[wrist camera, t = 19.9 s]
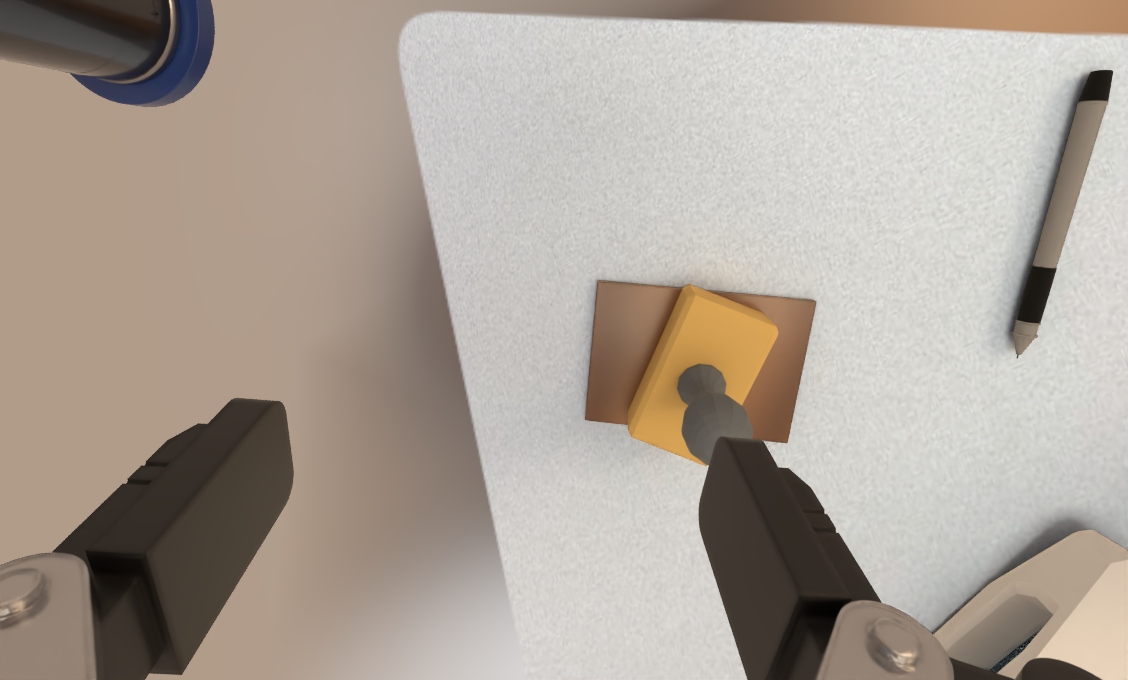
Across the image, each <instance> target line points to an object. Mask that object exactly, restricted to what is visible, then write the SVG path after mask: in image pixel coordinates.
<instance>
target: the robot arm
mask: <svg viewBox="0 0 1128 680" xmlns="http://www.w3.org/2000/svg"><path fill="white" fill-rule="evenodd" d="M180 30H181V15H180V7H179V1H178V0H0V60H5V61H11V62H16V63H21V64H27V65H32V66H37V67H42V68H48V69H53V70H58V71H63V72H67V73H72V74H78V75H83V76H88V77H94V78H98V79H100V80H103V81H107V82H112V83H117V84H125V85H133V84H140V83H144V82H147V81H149V80H151V79H153V78H155V77H156V76H157V75H159V74H160V73H161V72H162V71H163V70H164V69H165V68H166V67H167V66H168V64H169V63H170V61H171V60H172V58H173V56H174V54H175V51H176V49H177V46H178V42H179V37H180ZM293 476H294V471H293V462H292V454H291V446H290V440H289V431H288V423H287V416H286V410H285V407H284V405H283V404H282V403H281V402H280V401H270V400H269V401H268V400H257V399H244V398H234V399H232V400H231V401H230V402H228V404H227V405H226V406H225V407H224V408H223V409H222V410H221V411H220V412H219V413H218V414H217V415H216V416H215V417H214V418H213V419H212V420H211V421H210V422H209V423H208V424H197V425H195V426H193V427H191V428H189V429H188V430H186V431H184V432H182V433H180V434H179V435H176V436H175V437H173V438H171V439H169V440H167V441H166V442H165V443H164V444H163V445H162V446H161V447H160V448H159V449H158V450H157V451H156V452H155V453H154V454H153V455H152V456H151V457H150V458H149V459H148V460H147V461H146V465H145V466H141V467H140V468H139V469H138V470H136V471H135V472H134V473H133V474H132V475H131V476H130V477H129V478H128V482H127V484H122V485H121V486H120V487H119V488H118V489H117V490H116V491H115V492H114V493H113V494H112V495H111V496H110V497H108V499H107V500H105V501H104V502H103V503H102V504H101V505H100V506H99V507H98V508H97V509H96V510H95V511H94V512H93V513H92V514H91V515H90V516H89V517H88V518H87V519H86V520H85V521H84V522H83V523H82V524H81V525H79V526H78V527H77V529H75V530H74V531H73V532H72V533H71V534H70V535H69V536H68V537H67V538H66V539H65V540H64V541H63V542H62V543H61V544H60V545H59V546H58V547H57V548H56V549H55V550H54V551H53V552H52V553H41V554H35V555H31V556H26V557H22V558H19V559H15V560H12V561H10V562H7V563H4V564H2V565H0V680H145V679H146V677H147V676H148V674H149V673H153V674H174V675H175V674H176V675H182V674H183V672H184V670H185V669H186V667H187V665H188V664H189V662H190V661H191V659H192V657H193V655H194V654H195V652H196V650H197V649H198V648H199V646H200V644H201V643H202V641H203V639H204V638H205V636H206V634H207V633H208V631H209V630H210V628H211V626H212V625H213V623H214V621H215V620H216V618H217V616H218V615H219V613H220V611H221V610H222V608H223V607H224V605H225V603H226V601H227V600H228V598H229V597H230V595H231V593H232V592H233V590H234V589H235V587H236V585H237V584H238V582H239V580H240V579H241V577H242V576H243V574H244V572H245V571H246V569H247V567H248V565H249V564H250V562H251V561H252V559H253V558H254V556H255V554H256V553H257V551H258V549H259V547H260V546H261V544H262V543H263V541H264V540H265V538H266V536H267V535H268V533H269V531H270V530H271V528H272V526H273V525H274V523H275V522H276V520H277V518H278V517H279V515H280V513H281V512H282V510H283V508H284V507H285V505H286V503H287V501H288V499H289V496H290V493H291V489H292V484H293ZM699 527H700V532H701V535H702V539H703V542H704V545H705V548H706V551H707V554H708V557H709V561H710V564H711V567H712V570H713V573H714V576H715V579H716V582H717V586H718V589H719V592H720V595H721V598H722V601H723V604H724V607H725V611H726V614H727V617H728V620H729V623H730V626H731V629H732V632H733V636H734V639H735V642H736V645H737V648H738V651H739V654H740V657H741V661H742V664H743V667H744V670H745V673H746V676H747V679H748V680H1102V679H1100V678H1099V677H1097V676H1095V675H1094V674H1092V673H1090V672H1088V671H1086V670H1084V669H1082V668H1080V667H1078V666H1075V665H1073V664H1070V663H1068V662H1064V661H1061V660H1058V659H1052V658H1036V659H1032V660H1030V661H1028V662H1027V663H1026V664H1025V665H1024V667H1023V668H1022V669H1021V671H1020V672H1019V674H1018V675H1017V676H1016V678H1015V679H1013V678H1010V677H1007V676H1004V675H1001V674H998V673H995V672H992V671H989V670H986V669H983V668H980V667H977V666H974V665H971V664H968V663H965V662H962V661H959V660H956V659H953V658H951V657H949V656H948V654H947V653H946V651H945V649H944V648H943V646H942V645H941V644H940V642H939V641H938V640H937V639H936V638H935V636H934V635H933V634H932V633H931V632H930V631H929V630H928V629H926V628H925V627H924V626H923V625H922V624H920V623H919V622H918V621H916V620H915V619H914V618H912V617H911V616H909V615H907V614H906V613H904V612H902V611H900V610H898V609H896V608H894V607H892V606H889V605H886V604H883V603H882V602H881V601H880V599H879V597H878V596H877V594H876V593H875V591H874V589H873V588H872V586H871V584H870V583H869V581H868V580H867V578H866V576H865V575H864V573H863V571H862V570H861V568H860V567H859V565H858V563H857V562H856V560H855V559H854V557H853V555H852V554H851V552H850V550H849V549H848V547H847V546H846V544H845V542H844V541H843V539H842V537H841V536H840V534H839V533H836V528H835V526H834V524H833V523H832V521H831V520H830V518H829V516H828V515H827V514H825V513H824V508H823V507H822V505H821V503H820V502H819V500H818V499H817V497H816V495H815V494H814V492H813V490H812V489H811V488H810V487H809V486H808V485H807V484H806V483H805V482H804V481H802V480H801V479H800V478H799V477H798V476H797V475H796V474H794V473H793V472H792V471H791V470H790V469H789V468H778V466H777V465H776V463H775V461H774V459H773V458H772V456H771V454H770V452H769V450H768V449H767V447H766V445H765V444H764V442H763V441H762V440H760V439H749V438H736V437H723V436H721V437H719V438H718V439H717V441H716V443H715V446H714V449H713V453H712V457H711V460H710V464H709V468H708V472H707V475H706V479H705V483H704V486H703V490H702V494H701V498H700V503H699Z"/></svg>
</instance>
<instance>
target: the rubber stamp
mask: <svg viewBox="0 0 1128 680" xmlns="http://www.w3.org/2000/svg"><path fill="white" fill-rule="evenodd" d="M777 336H778V329H777V327H776V325H775V324H774V323H773V322H772V321H771V320H770V319H769V318H768V317H767V316H766V315H765V314H764V313H762V312H760V311H757V310H754V309H752V308H749V307H747V306H744V305H742V304H739V303H736V302H734V301H731V300H729V299H726V298H724V297H721V296H719V295H716V294H713V293H711V292H708V291H706V290H703V289H701V288H698V287H695V286H693V285H690V284H689V285H687V286H685V287H684V288H683V289H682V291H681V293H680V296H679V298H678V300H677V302H676V305H675V307H674V309H673V311H672V313H671V316H670V318H669V320H668V322H667V325H666V327H665V329H664V331H663V334H662V336H661V338H660V340H659V343H658V345H657V347H656V349H655V352H654V354H653V356H652V358H651V361H650V363H649V365H648V367H647V370H646V372H645V374H644V376H643V378H642V381H641V383H640V385H639V387H638V390H637V392H636V394H635V396H634V399H633V401H632V403H631V405H630V408H629V410H628V430H629V433H630V435H631V437H633V438H636V439H638V440H641V441H643V442H646V443H648V444H651V445H653V446H656V447H659V448H661V449H664V450H666V451H669V452H671V453H674V454H676V455H679V456H682V457H684V458H687V459H689V460H692V461H694V462H697V463H700V464H702V465H705V466H707V465H709V464H710V460H711V457H712V453H713V449H714V446H715V443H716V441H717V439H718V438H719V437H721V436H723V437H736V438H749V439H752V436H753V427H752V424H751V422H750V419H749V417H748V414H747V412H746V410H745V408H744V407H743V406H742V404H743V402H744V400H745V399H746V397H747V395H748V393H749V391H750V389H751V387H752V385H753V383H754V381H755V379H756V377H757V375H758V373H759V371H760V369H761V367H762V366H763V364H764V362H765V360H766V358H767V356H768V354H769V352H770V350H771V348H772V346H773V344H774V342H775V340H776V338H777Z"/></svg>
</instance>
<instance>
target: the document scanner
mask: <svg viewBox="0 0 1128 680" xmlns="http://www.w3.org/2000/svg"><path fill="white" fill-rule="evenodd" d="M1042 627H1043V628H1042ZM1041 628H1042V629H1041ZM1040 629H1041V630H1040ZM1039 630H1040V631H1039ZM1037 631H1039V633H1038V634H1037V635H1036V636H1035V637H1034V639H1033V640H1032V641H1031V642H1030V643H1029V644H1028V646H1027V647H1026V648H1025V649H1024V650H1023V651H1022V652H1021V653H1020V654H1019V655H1018V656H1016V657H1015V658H1014V659H1013V660H1012V661H1011V662H1009V663H1008V664H1007V665H1006V666H1005V667H1004V668H1002V669H1001V670H1000V671H999V672H998V674H1001V675H1004V676H1007V677H1010V678H1013V679H1015V678H1016V676H1017V675H1018V674H1019V672H1020V671H1021V669H1022V668H1023V667H1024V665H1025V664H1026V663H1027V662H1028V661H1030V660H1032V659H1036V658H1052V659H1058V660H1061V661H1064V662H1068V663H1070V664H1073V665H1075V666H1078V667H1080V668H1082V669H1084V670H1086V671H1088V672H1090V673H1092V674H1094V675H1095V676H1097V677H1099V678H1100V679H1102V680H1128V550H1126V549H1124V548H1123V547H1121V546H1119V545H1118V544H1116V543H1114V542H1113V541H1111V540H1109V539H1108V538H1106V537H1104V536H1103V535H1101V534H1099V533H1097V532H1096V531H1094V530H1092V529H1091V530H1083V531H1078V532H1075V533H1073V534H1071V535H1069V536H1068V537H1066V538H1064V539H1063V540H1061V541H1059V542H1058V543H1056V544H1054V545H1053V546H1051V547H1049V548H1048V549H1046V550H1044V551H1043V552H1041V553H1039V554H1038V555H1036V556H1034V557H1033V558H1031V559H1029V560H1028V561H1026V562H1024V563H1023V564H1021V565H1019V566H1018V567H1016V568H1014V569H1013V570H1011V571H1009V572H1008V573H1006V574H1004V575H1003V576H1001V577H999V578H998V579H996V580H994V581H993V582H991V583H989V584H988V585H987V586H986V587H985V588H984V589H983V590H982V591H981V592H980V593H978V594H977V595H976V596H975V597H974V598H973V599H972V600H971V601H970V602H969V603H967V604H966V605H965V606H964V607H963V608H962V609H961V610H960V611H959V612H957V613H956V614H955V615H954V616H953V617H952V618H951V619H950V620H949V621H948V622H946V623H945V624H944V625H943V626H942V627H941V628H940V629H939V630H938V631H937V632H936V633H934V634H933V635H934V636H935V638H936V639H937V640H938V641H939V642H940V644H941V645H942V646H943V648H944V649H945V651H946V653H947V654H948V656H949V657H951V658H953V659H956V660H959V661H962V662H965V663H968V664H971V665H974V666H977V667H980V668H983V669H986V670H990V669H991V668H992V667H993V666H995V665H996V664H997V663H998V662H1000V661H1001V660H1002V659H1003V658H1005V657H1006V656H1007V655H1008V654H1010V653H1011V652H1012V651H1013V650H1015V649H1016V648H1017V647H1018V646H1020V645H1021V644H1022V643H1023V642H1025V641H1026V640H1027V639H1029V638H1030V637H1031V636H1032V635H1034V634H1035V633H1036V632H1037Z"/></svg>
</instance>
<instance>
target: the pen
mask: <svg viewBox="0 0 1128 680" xmlns="http://www.w3.org/2000/svg"><path fill="white" fill-rule="evenodd" d="M1112 75H1113V71H1111V70H1099V71H1093V72H1091V73H1090V75H1089V77H1088V80H1087V82H1086V84H1085V87H1084V89H1083V92H1082V94H1081V97H1080V99H1079V101H1078V103H1077V109H1076V113H1075V116H1074V120H1073V123H1072V127H1071V131H1070V134H1069V138H1068V141H1067V145H1066V148H1065V152H1064V156H1063V159H1062V163H1061V166H1060V170H1059V173H1058V177H1057V180H1056V184H1055V188H1054V191H1053V195H1052V198H1051V202H1050V205H1049V209H1048V212H1047V216H1046V220H1045V223H1044V227H1043V230H1042V234H1041V237H1040V241H1039V245H1038V248H1037V252H1036V255H1035V259H1034V262H1033V265H1032V267H1031V271H1030V274H1029V278H1028V281H1027V285H1026V288H1025V291H1024V295H1023V298H1022V302H1021V305H1020V309H1019V312H1018V316H1017V319H1016V325H1015V328H1014V331H1012V332H1011V333H1012V334H1013V337H1014V343H1015V350H1016V354H1017V358H1018V355H1021V354H1022V353H1023V352H1024V350H1025V349H1026V348H1027V347H1028V346H1029V344H1030V343H1031V342H1032V341H1033V339H1034V338H1037V337H1038V336H1037V335H1036V333H1037V330H1038V327H1039V325H1040V324H1041V323H1040V322H1041V319H1042V316H1043V312H1044V309H1045V306H1046V302H1047V299H1048V296H1049V292H1050V289H1051V286H1052V282H1053V279H1054V276H1055V273H1056V269H1057V268H1056V267H1057V264H1058V261H1059V257H1060V254H1061V251H1062V248H1063V244H1064V241H1065V238H1066V235H1067V231H1068V228H1069V225H1070V222H1071V219H1072V215H1073V212H1074V209H1075V206H1076V202H1077V199H1078V196H1079V193H1080V189H1081V186H1082V183H1083V180H1084V176H1085V173H1086V170H1087V167H1088V164H1089V160H1090V157H1091V154H1092V151H1093V147H1094V144H1095V141H1096V138H1097V134H1098V131H1099V128H1100V125H1101V121H1102V118H1103V115H1104V112H1105V109H1106V105H1107V104H1108V99H1109V93H1110V87H1111V81H1112Z"/></svg>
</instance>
